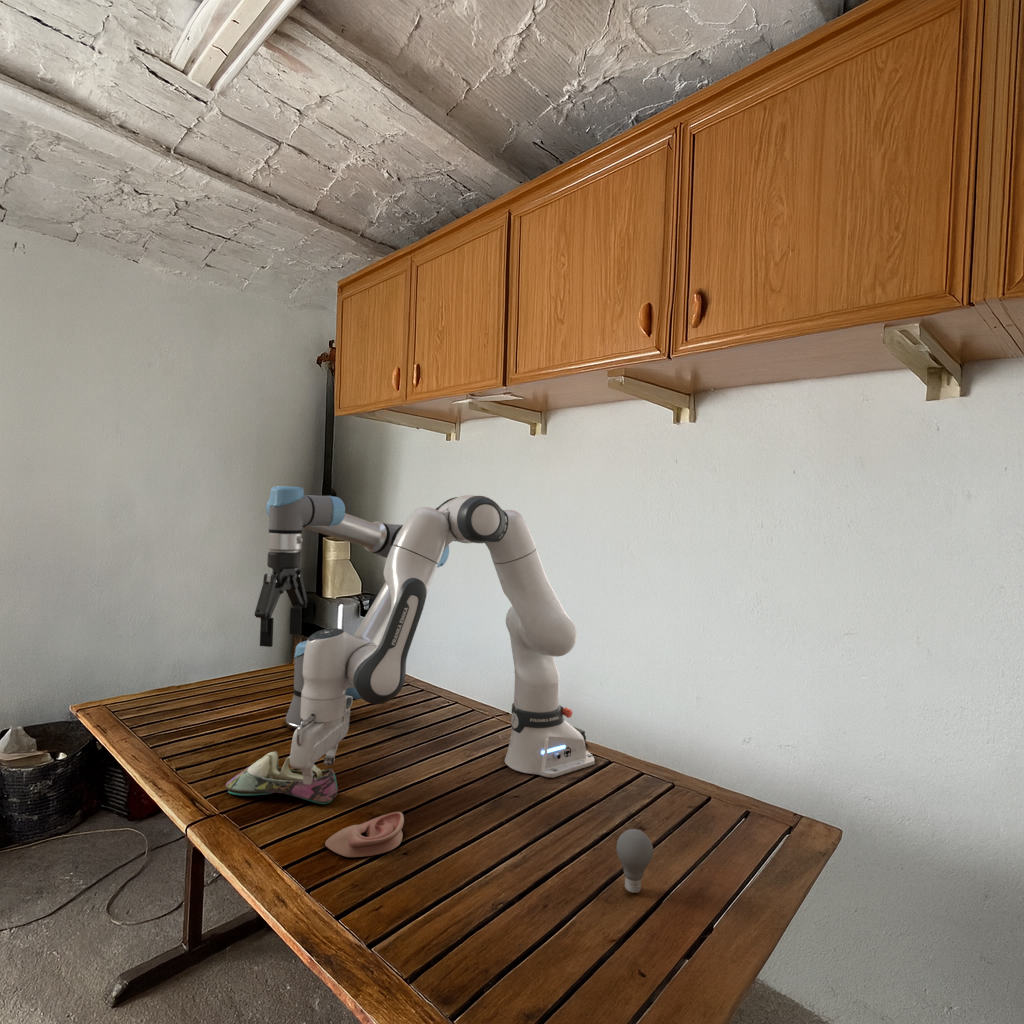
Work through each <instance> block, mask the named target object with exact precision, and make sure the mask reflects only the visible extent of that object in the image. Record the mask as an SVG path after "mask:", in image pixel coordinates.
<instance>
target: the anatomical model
mask: <svg viewBox="0 0 1024 1024" xmlns="http://www.w3.org/2000/svg"><path fill="white" fill-rule="evenodd" d="M404 823H405V818H404V814H403V812H401V811H393V812H390V813H386V814H383V815H380V816H377V817H375V818H372V819H370V820H368V821H365V822H362V823H360V824H353V825H350V826H349V825H348V826H347V827H344V828H342V829H340V830H339V831H337V832H335V833H334V834H332V835H331V836H329V837H328V839H326V841H325V843H324V845H325V847H326V848H327V849H328V850H330V851H332V852H334V853H335V854H337V855H340V856H342V857H345V858H362V857H363V858H364V857H371V856H376V855H381V854H385V853H387V852H390V851H393V850H394V849H396V848H397V847H399V846H400V845H401V843H402V840H403V835H404V834H403V831H402V829H403V828H404Z"/></svg>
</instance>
